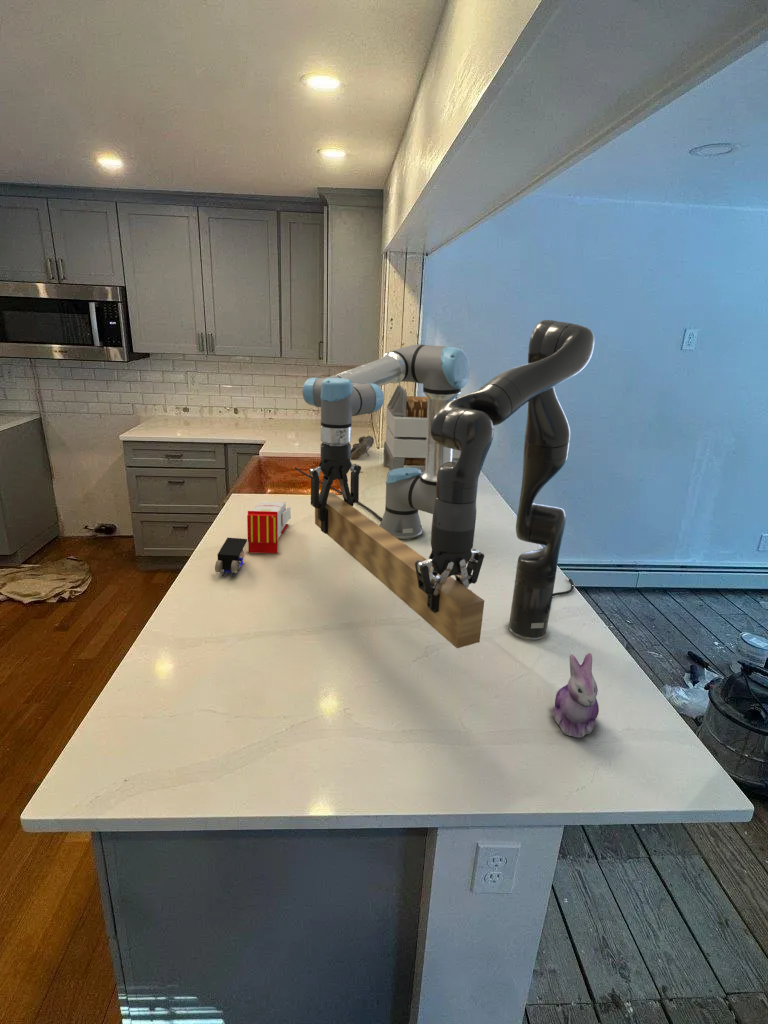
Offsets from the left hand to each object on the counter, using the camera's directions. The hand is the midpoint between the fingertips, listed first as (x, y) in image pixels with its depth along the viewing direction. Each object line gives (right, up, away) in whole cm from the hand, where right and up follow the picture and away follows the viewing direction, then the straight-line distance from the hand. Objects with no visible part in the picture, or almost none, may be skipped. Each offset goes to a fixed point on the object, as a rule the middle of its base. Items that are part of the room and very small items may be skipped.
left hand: (334, 530), depth 148 cm
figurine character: (-32, -12, +20) cm, 40 cm away
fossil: (+1, +35, +155) cm, 159 cm away
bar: (+12, -9, -21) cm, 26 cm away
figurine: (+50, -37, -37) cm, 72 cm away
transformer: (+30, +24, +127) cm, 133 cm away
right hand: (+24, -13, -43) cm, 51 cm away
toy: (-26, -4, +44) cm, 51 cm away
